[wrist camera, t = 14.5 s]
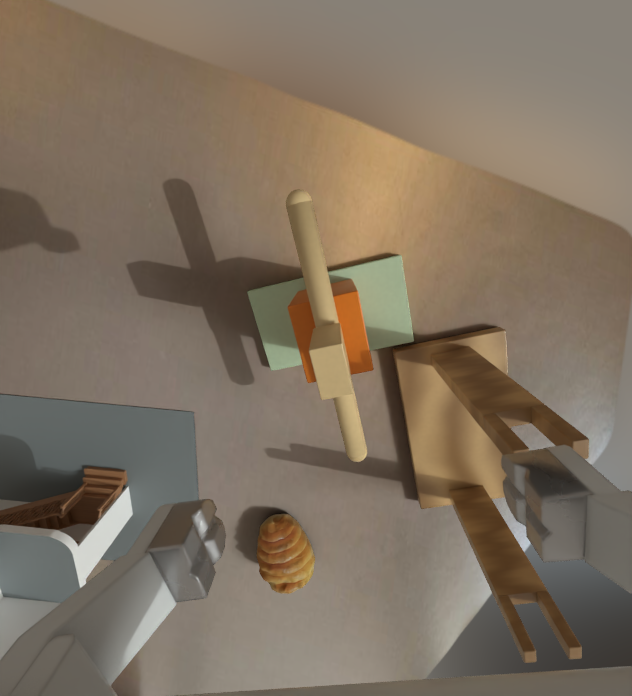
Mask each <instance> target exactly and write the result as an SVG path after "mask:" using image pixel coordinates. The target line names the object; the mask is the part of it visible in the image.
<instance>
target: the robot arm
mask: <svg viewBox="0 0 632 696" xmlns="http://www.w3.org/2000/svg"><path fill="white" fill-rule="evenodd" d="M501 466H502V469H503V470H504V472H505V473H506V475H507V476H506V478H505V479H504V480H503V491H504V495H505V498H506V502H507V504H508V506H509V508H510V511H511V512H512V514H513V516H514V517H515V519H516V520H517V521H518V522H520V523H521V524H523V525H525V526H526V532H527V538H528V539H529V541H530V542H531V544H532V545H533V547H534V548H535V550H536V551H537V553H538V555H539V556H540V558H541V559H542V560H543V562H556V561H570V560H582V559H585V562H587V563H588V564H589V565H591V566H592V567H593V568H595V569H596V570H598V571H599V572H601V573H602V574H603V575H605V576H606V577H608V578H609V579H611V580H612V581H614V582H615V583H616V584H618V585H619V586H621V587H622V588H623V589H625V590H627V591H628V592H629V593H631V594H632V492H631V491H620V490H619V489H618V488H617V487H615V486H614V485H613V484H612V483H611V482H610V481H609V480H607V479H606V478H605V477H604V476H603V475H602V474H601V473H600V472H598V471H597V470H596V469H595V468H594V467H593V466H592V465H590V464H589V463H588V462H587V461H586V460H585V459H584V458H582V457H581V456H580V455H579V454H578V453H577V452H576V451H574V450H573V449H572V448H571V447H569V446H567V445H560V446H554V447H548V448H544V449H538V450H532V451H525V452H519V453H512V454H506V455H502V459H501ZM216 510H217V508H216V506H215V504H214V502H213V500H210V499H203V500H195V501H187V502H178V503H173V504H165V505H162V506H160V507H159V508H157V510H156V511H155V513H154V514H153V516H152V517H151V519H150V520H149V522H148V523H147V525H146V526H145V528H144V529H143V531H142V532H141V534H140V535H139V537H138V538H137V540H136V541H135V543H134V544H133V546H132V547H131V549H130V550H129V552H128V553H127V555H124V556H120V557H119V558H118V559H116V560H115V561H114V562H113V563H111V564H110V565H109V566H108V567H106V568H105V569H104V570H103V571H101V572H100V573H99V574H98V575H96V576H95V577H94V578H92V579H91V580H90V581H89V582H87V583H86V584H85V585H84V586H82V587H81V588H80V589H79V590H77V591H76V592H75V593H74V594H72V595H71V596H70V597H69V598H67V599H66V600H65V601H64V602H62V603H61V604H60V605H58V606H57V607H56V608H55V609H53V610H52V611H51V612H50V613H48V614H47V615H46V616H45V617H43V618H42V619H41V620H40V621H38V622H37V623H36V624H35V625H33V626H32V627H31V628H30V629H28V630H27V631H26V632H24V633H23V634H22V635H21V636H19V637H18V639H17V640H16V641H15V642H14V644H13V645H12V646H11V647H10V649H9V650H8V651H7V652H6V654H5V655H4V656H3V657H2V659H1V660H0V696H117V694H116V693H115V691H114V690H113V689H112V687H111V686H110V685H111V684H112V683H113V682H114V680H115V679H116V678H117V677H118V676H119V674H120V673H121V672H122V671H123V669H124V668H125V667H126V666H127V665H128V663H129V662H130V661H131V660H132V658H133V657H134V656H135V655H136V653H137V652H138V651H139V650H140V649H141V647H142V646H143V645H144V644H145V642H146V641H147V640H148V639H149V638H150V636H151V635H152V634H153V633H154V631H155V630H156V629H157V628H158V626H159V625H160V624H161V623H162V622H163V620H164V619H165V618H166V617H167V615H168V614H169V613H170V612H171V611H172V609H173V608H174V607H175V606H176V602H182V601H189V600H196V599H203V598H207V595H208V592H209V589H210V587H211V584H212V581H213V578H214V576H215V573H216V572H215V569H214V566H213V565H214V564H215V563H216V562H217V561H218V560H219V559H220V558H221V556H222V553H223V550H224V547H225V538H226V534H225V528H224V525H223V522H222V520H220V519H219V518H217V517H216V516H215V512H216ZM176 696H632V666H625V667H610V668H594V669H580V670H564V671H548V672H533V673H516V674H501V675H485V676H470V677H454V678H439V679H423V680H407V681H392V682H376V683H361V684H346V685H330V686H315V687H300V688H285V689H269V690H254V691H238V692H223V693H207V694H191V695H176Z"/></svg>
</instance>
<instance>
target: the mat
mask: <svg viewBox="0 0 632 696" xmlns="http://www.w3.org/2000/svg"><path fill="white" fill-rule="evenodd" d="M328 275H329V280H330V284H331V283H335V282H340V281H344V280H348V279H352V280H353V282H354V284H355V286H356V288H357V290H358V293H359V298H360V303H361V308H362V313H363V318H364V323H365V329H366V334H367V339H368V344H369V349H370V351H371V350H376V349H380V348H385V347H390V346H395V345H400V344H405V343H410V342H414V338H413V331H412V324H411V317H410V311H409V304H408V297H407V290H406V284H405V277H404V270H403V263H402V257H401V255H396V256H392V257H387V258H383V259H379V260H375V261H371V262H366V263H362V264H358V265H354V266H350V267H345V268H341V269H337V270H333V271H329V272H328ZM305 289H306V286H305V282H304V277H303V278H299V279H295V280H291V281H287V282H282V283H278V284H274V285H270V286H266V287H262V288H257V289H253V290H249V291H248V292H247V293H248V296H249V300H250V303H251V306H252V310H253V313H254V316H255V320H256V323H257V326H258V329H259V333H260V336H261V339H262V343H263V346H264V349H265V352H266V356H267V359H268V362H269V366H270V369H271V371H273V370H278V369H283V368H288V367H293V366H297V365H302V360H301V356H300V353H299V349H298V345H297V341H296V338H295V334H294V330H293V326H292V323H291V319H290V315H289V311H288V305H289V304H290V302H291V301H292V299H293V298H294V296H295V295H296V293H297V292H298V291H301V290H305Z"/></svg>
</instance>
